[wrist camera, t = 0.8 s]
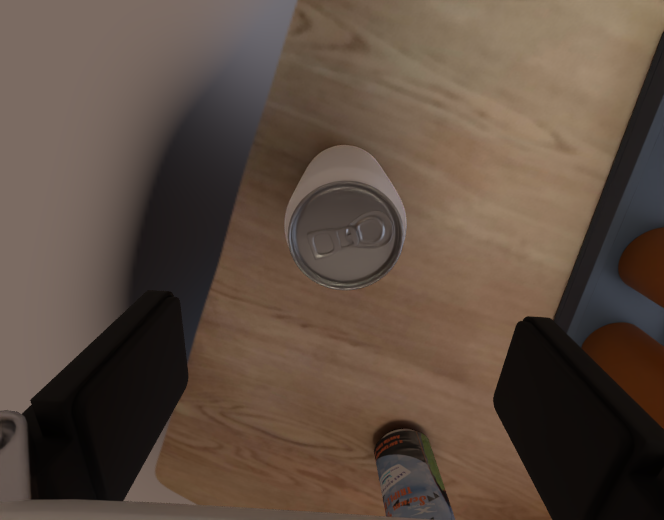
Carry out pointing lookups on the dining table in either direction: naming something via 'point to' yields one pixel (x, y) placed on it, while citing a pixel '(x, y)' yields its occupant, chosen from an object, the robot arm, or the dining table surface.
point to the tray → (622, 225)
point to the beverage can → (410, 477)
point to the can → (345, 220)
